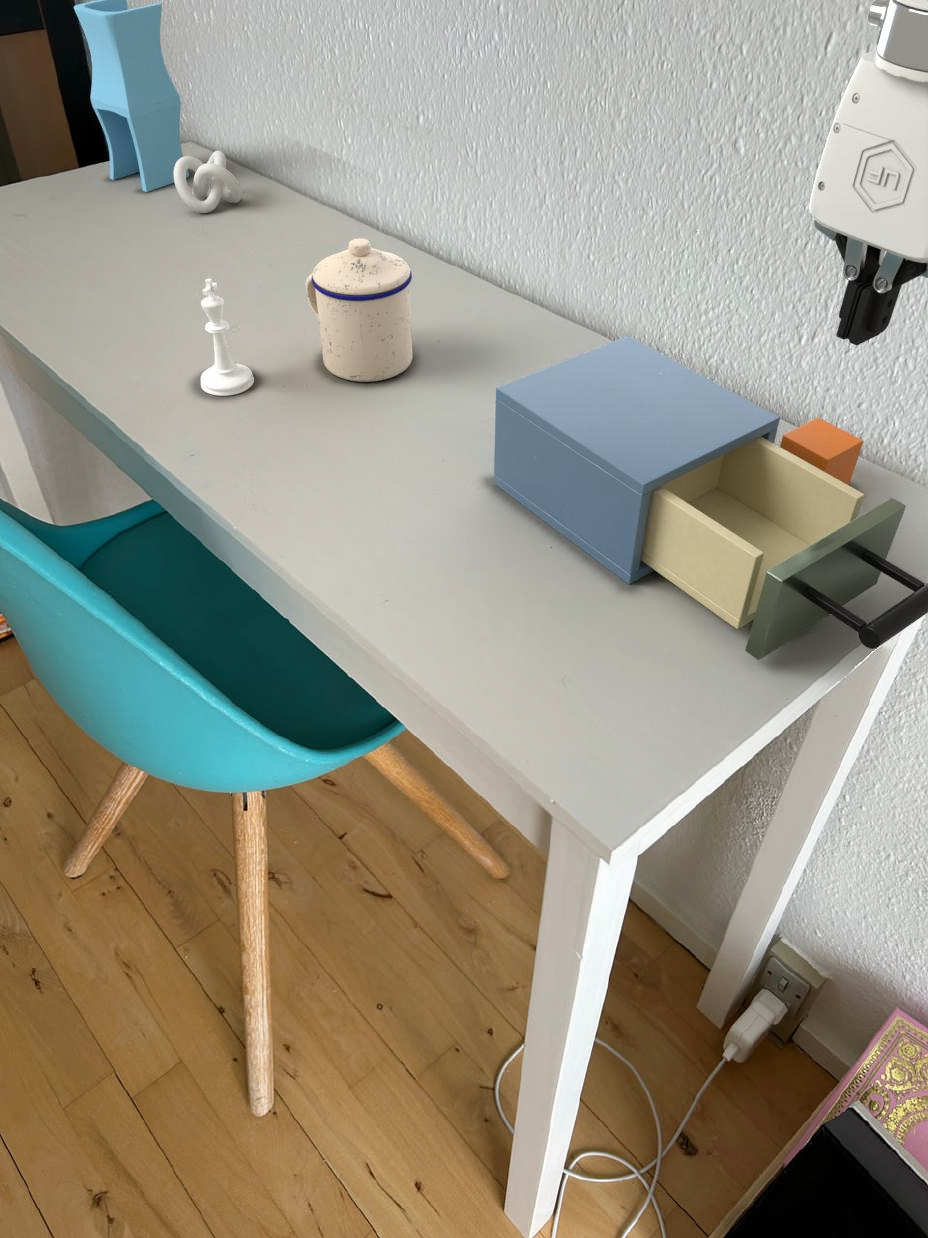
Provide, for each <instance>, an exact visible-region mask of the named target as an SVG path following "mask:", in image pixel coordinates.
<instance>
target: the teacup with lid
mask: <svg viewBox="0 0 928 1238" xmlns="http://www.w3.org/2000/svg"><path fill="white" fill-rule="evenodd" d="M412 279H413V274H412V271H411V268H410V266H409V264H408V263H407V262H406V261H405V260H404V258H402V257H400V256H398V255H397V254H394V253H391V252H389V251H385V250H379V249H377V248H374V247H372V244H371V242H370V240H369V239H366V238H362V237H359V238H354V239H351V240H350V241H349V242H348V245H347V249H345V250H342V251H340V252H337V253H333V254H331V255H328V256H326V257H325V258H323V259H322V260H320V261H319V262H318V263H317V264H316V265H315V267H314V268H313V271H312V273H311V274H310V275H308V276H307V278H306V280H305V285H304V287H305V288H304V289H305V295H306V298H307V299H306V300H307V302H308V304H309V307H310V309H311V310H312V313H313V314H314V315H315V316H316V318H317V319H318V324H319V335H320V344H321V351H322V352H321V353H322V361H323V364H324V367H325V368H326V369H327V370H328V371H329V373H331V374H332V375H334V376H336V377H338V378H340V379H342V380H343V379H344V380H347V381H351V382H358V383H359V382H360V383H369V382H378V381H383V380H387V379H388V380H389V379H391V378H394V377H397V376H398V375H399V374H401V373H403V372H405V371H406V370H407V369H408V368H409V367H410V365H411V364H412V361H413V355H414V354H413V334H412V333H413V332H412V330H413V329H412V312H411V311H412V310H411V309H412V308H411V285H410V283H411V282H412Z"/></svg>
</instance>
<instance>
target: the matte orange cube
mask: <svg viewBox="0 0 928 1238" xmlns="http://www.w3.org/2000/svg"><path fill="white" fill-rule="evenodd" d="M863 444H864V440H863V439H861V438H859V437H857V436H855V435H853V434H851V433H849V432H848V431H845V430H844V429H842V428H840V427H838V426H836V425H834V424H832V423H830V422H828V421H827V420H824V419H822V418H821V417H816V418H814V419H812V420H810V421H808V422H806V423H804V424H801V426H799V427H796V428H794V429H793V430H790V431H789V432H786V433H785V434H783V435H782V438H781V442H780V446H779V447H781V448H782V449H784V450H786V451H788V452H790V453H791V454H793V455H795V456H797V457H799V458H800V459H802V460H804V461H806V462H808V463H809V464H811V465H813V466H815V467H816V468H818V469H820V470H822V471H824V472H825V473H827V474H829V475H831V476H833V477H834V478H836V479H838V480H840V481H842V482H843V483H845V484H847V485H849V486H850V484H851V481H852V478H853V475H854V472H855V469H856V466H857V464H858V463H857V462H858V460H859V456H860V454H861V450H862V447H863Z"/></svg>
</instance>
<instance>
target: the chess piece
mask: <svg viewBox="0 0 928 1238" xmlns="http://www.w3.org/2000/svg"><path fill="white" fill-rule="evenodd" d="M204 283H205V287H204V288H203V289H202V290H201V291H202V295H203V296H206V297H204V298H203V299H202V300H201V302H200V305H201V307H202V309H203V311H204V313H205V314H206V316H207V318H208V320H209V321H208V322H207V323H205V327H204V329H205V330H204V331H206V332H207V333H210V334H212V338H213V352H214V364H213V365H212V366H210V367H208V368H207V369H205V371H203V372H202V373H201V376H200V386H201V387H200V388H201V389H202V390H203V391H204V392H205V393H207V394H209V395H213V396H218V397H219V396H220V397H225V396H226V397H228V396H233V395H238V394H241V393H244V392H245V391H247V390H249V389H250V388H251V387H252V386H253V385H254V383H255V377H254V375H253V372H252V370H251V369H250V368H249V367H248V366H246V365H244V364H242V363H237V362H236V361H233V358H232V354H231V352H230V348H229V346H228V342H227V339H226V336H225V335H226V334H225V332H227V331H228V330H229V329H230V324H229V322H228V321H226V320H224V319H223V315H224V313H223V312H224V307H225V300H224V299H223V298H222V297H221V296H218V295H215V291H216V290H218V288H219V287H218V282H213V279H212V278H205V280H204Z"/></svg>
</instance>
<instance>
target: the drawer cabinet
mask: <svg viewBox="0 0 928 1238" xmlns="http://www.w3.org/2000/svg"><path fill="white" fill-rule="evenodd" d="M494 413H495V414H494V415H495V419H494V456H493V457H494V458H493V459H494V460H493V484H494V485H495V486H497V488H498V489H500V490H502V491H503V492H504V493H506V494H507V495H508V496H510V497H511V498H513V500H514V501H516V502H518V503H519V504H520V505H522V506H523V507H525V508H526V509H527V510H528V511H529V512H531V513H533V514H534V515H535V516H536V517H538V518H539V519H541V520H542V521H543V522H545V523H546V524H547V525H548V526H550V527H552V529H554V530H555V531H556V532H558V533H559V534H561V535H562V536H563V537H565V538H566V539H567V540H569V541H570V542H572V543H573V544H574V545H575V546H577V548H579V549H581V550H582V551H583V552H585V553H586V554H587V555H588V556H590V557H591V558H592V559H594V560H595V561H596V562H597V563H599V564H600V565H602V566H604V567H605V568H606V569H607V570H609V572H611V573H612V574H614V575H616V576H617V577H618V578H619V579H621V580H622V581H623V582H625V583H626V584H627V585H631V584H633V583H635V582H637V581H639V580H640V579H642V578H643V577H646V576H648V575H649V574H651V573H653V572H656V571H655V570H654V569H653V568H651V567H650V566H648V565H647V564H646V563H644V562H643V561H641V554H642V548H643V541H644V535H645V529H646V522H647V516H648V510H649V503H650V497H651V491H652V490H654V489H656V488H658V487H660V486H662V485H664V484H666V483H668V482H670V481H672V480H674V479H676V478H678V477H680V476H682V475H684V474H686V473H688V472H690V471H692V470H694V469H696V468H698V467H700V466H702V465H704V464H706V463H708V462H710V461H712V460H714V459H716V458H718V457H720V456H722V455H724V454H726V453H728V452H730V451H732V450H734V449H736V448H738V447H740V446H742V445H744V444H746V443H748V442H750V441H752V440H754V439H756V438H758V437H760V436H761V437H763V438H765V439H766V440H768V441H770V442H772V443H774V444H775V440H776V437H777V433H778V428H779V424H780V421H781V417H780V416H778V415H776V414H775V413H772V412H771V411H769V410H767V409H765V408H764V407H762V406H759V405H758V404H756V403H754V402H752V401H751V400H748V399H746V398H745V397H743V396H742V395H739V394H737V393H735V392H734V391H732V390H730V389H728V388H726V387H724V386H722V385H721V384H719V383H717V382H715V381H713V380H711V379H709V378H708V377H706V376H704V375H702V374H700V373H698V372H696V371H694V370H692V369H691V368H689V367H687V366H685V365H683V364H681V363H679V362H677V361H676V360H674V359H672V358H670V357H668V356H667V355H664V354H663V353H660V352H659V351H657V350H655V349H653V348H652V347H650V346H648V345H646V344H644V343H643V342H641V341H638V340H636V339H635V338H634V337H631V336H629V335H626V336H623V337H621V338H618V339H616V340H614V341H611V342H608V343H605V344H603V345H601V346H598V347H595V348H593V349H590V350H588V351H585V352H583V353H581V354H578V355H575V356H573V357H571V358H568V359H566V360H563V361H560V362H558V363H555V364H553V365H551V366H548V367H545V368H543V369H540V370H538V371H536V372H532V373H530V374H527V375H524V376H522V377H520V378H517V379H514V380H513V381H510V382H508V383H505V384H502V385H500V386H498V387H496V388H495V411H494Z"/></svg>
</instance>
